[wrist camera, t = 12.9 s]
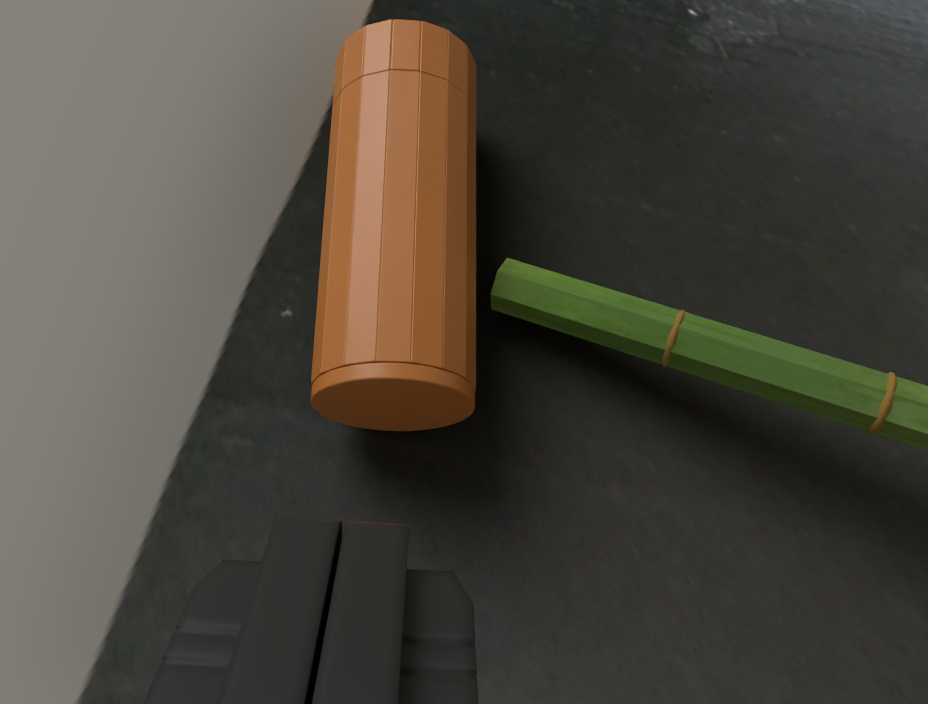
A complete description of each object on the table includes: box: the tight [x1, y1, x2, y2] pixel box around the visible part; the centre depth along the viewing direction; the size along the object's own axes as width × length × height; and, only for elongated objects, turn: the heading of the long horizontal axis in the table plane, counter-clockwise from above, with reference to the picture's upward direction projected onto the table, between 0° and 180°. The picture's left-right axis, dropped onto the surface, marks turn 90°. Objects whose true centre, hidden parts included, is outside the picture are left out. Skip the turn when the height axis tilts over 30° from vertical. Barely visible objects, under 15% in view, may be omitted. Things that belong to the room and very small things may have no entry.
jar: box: [311, 19, 476, 431], centre depth 33 cm, size 6×6×15 cm
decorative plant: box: [490, 258, 928, 451], centre depth 32 cm, size 6×8×30 cm
